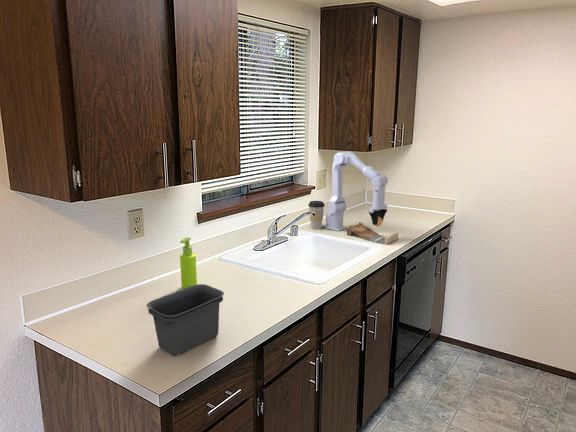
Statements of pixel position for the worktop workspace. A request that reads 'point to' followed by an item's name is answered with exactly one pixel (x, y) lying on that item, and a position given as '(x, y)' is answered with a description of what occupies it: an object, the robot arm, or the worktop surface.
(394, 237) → the mat
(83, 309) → the worktop surface
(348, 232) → the ramp
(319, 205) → the coffee cup
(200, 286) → the storage bin
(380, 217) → the ball
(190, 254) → the soap dispenser
